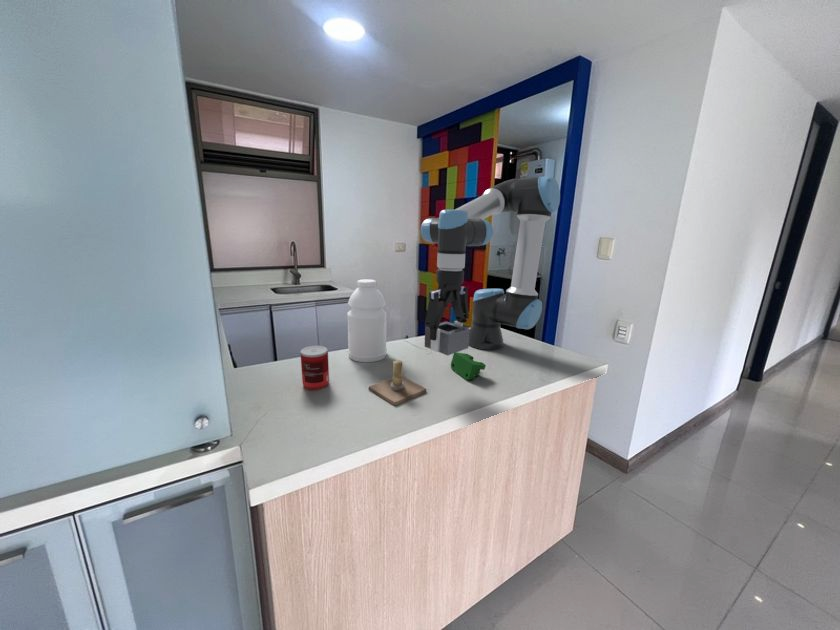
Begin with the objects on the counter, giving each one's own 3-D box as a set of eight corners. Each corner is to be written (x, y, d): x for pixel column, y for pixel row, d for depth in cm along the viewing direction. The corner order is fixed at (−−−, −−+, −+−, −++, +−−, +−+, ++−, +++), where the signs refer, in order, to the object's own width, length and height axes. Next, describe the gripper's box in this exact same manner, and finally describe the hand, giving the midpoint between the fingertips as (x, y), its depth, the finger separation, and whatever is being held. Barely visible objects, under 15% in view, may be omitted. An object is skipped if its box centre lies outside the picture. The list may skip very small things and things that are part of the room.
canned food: (321, 376, 106) (319, 343, 103) (334, 385, 101) (332, 350, 98) (297, 383, 101) (295, 349, 98) (310, 393, 95) (308, 357, 93)
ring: (445, 340, 103) (446, 321, 102) (468, 348, 97) (469, 328, 96) (424, 346, 97) (425, 326, 96) (447, 355, 91) (448, 334, 90)
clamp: (476, 389, 110) (490, 370, 106) (461, 388, 107) (475, 368, 103) (462, 363, 119) (474, 344, 115) (448, 361, 116) (460, 342, 112)
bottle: (393, 353, 127) (394, 280, 119) (372, 366, 115) (371, 285, 107) (363, 346, 133) (362, 276, 126) (340, 357, 121) (337, 281, 114)
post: (399, 377, 106) (400, 351, 104) (426, 391, 98) (427, 363, 96) (368, 389, 98) (368, 361, 96) (394, 405, 90) (394, 375, 88)
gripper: (464, 265, 101) (460, 335, 107) (411, 270, 87) (410, 351, 93) (485, 267, 96) (479, 341, 102) (432, 273, 81) (429, 359, 87)
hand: (446, 346), depth 97 cm, fingers closed on ring, 9 cm apart
